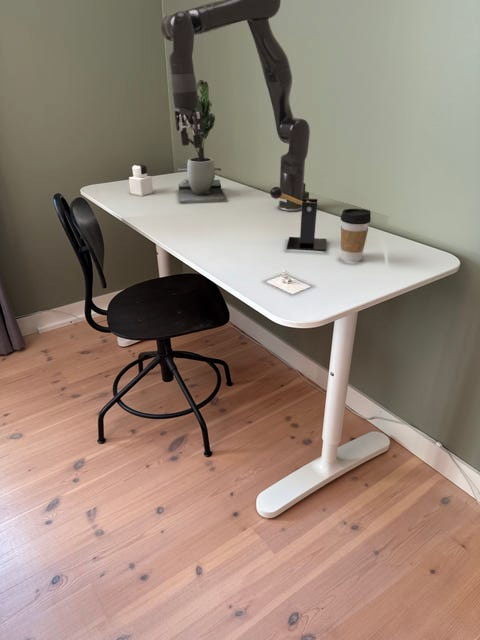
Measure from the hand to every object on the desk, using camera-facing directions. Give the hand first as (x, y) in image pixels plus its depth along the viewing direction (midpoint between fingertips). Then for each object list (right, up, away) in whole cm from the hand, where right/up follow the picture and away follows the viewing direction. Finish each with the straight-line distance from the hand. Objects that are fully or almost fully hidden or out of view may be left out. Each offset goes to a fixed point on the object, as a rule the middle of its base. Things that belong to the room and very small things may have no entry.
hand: (191, 146), depth 152 cm
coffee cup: (+48, -38, -10) cm, 62 cm away
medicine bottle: (-28, 0, +58) cm, 65 cm away
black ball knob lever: (+31, -20, -6) cm, 37 cm away
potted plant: (-1, -2, +54) cm, 54 cm away
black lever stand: (+37, -32, 0) cm, 49 cm away
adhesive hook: (+28, -46, -25) cm, 59 cm away
